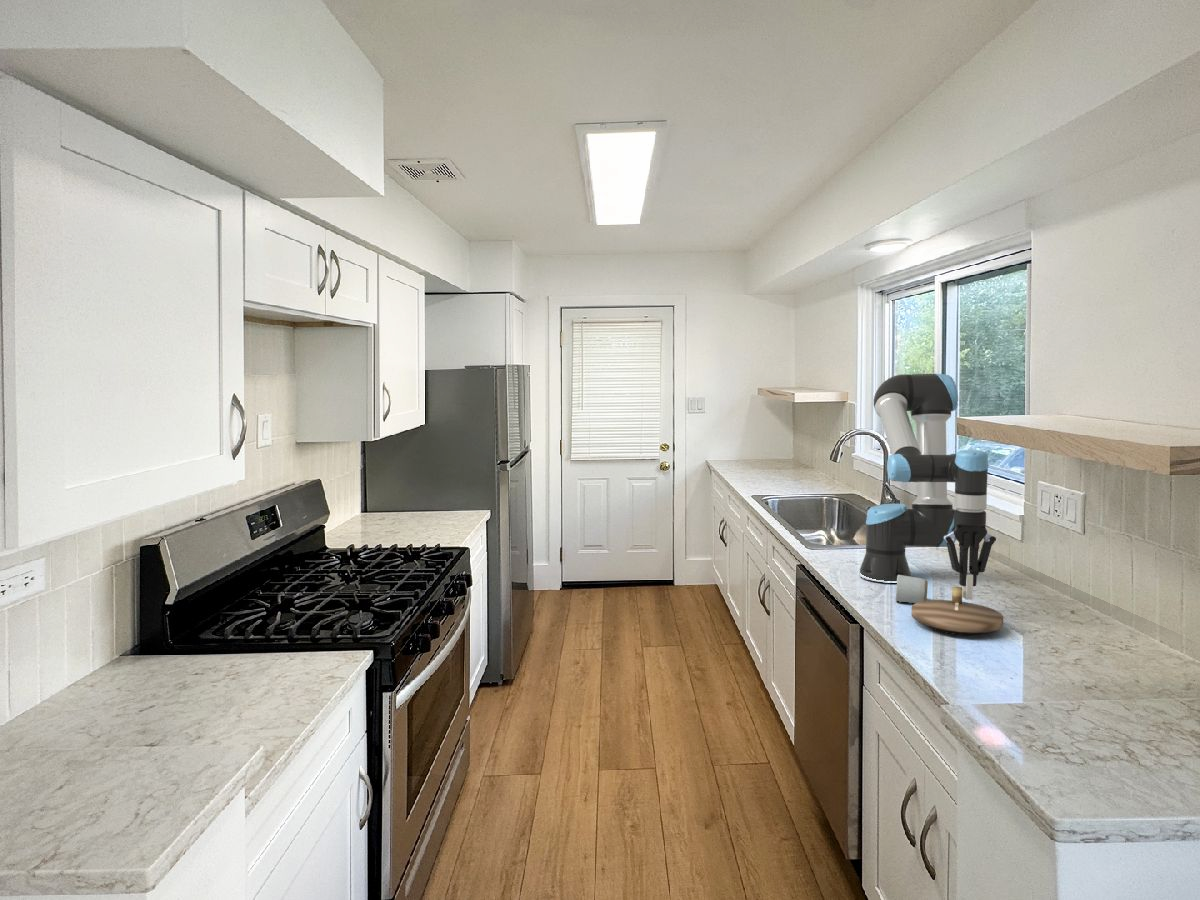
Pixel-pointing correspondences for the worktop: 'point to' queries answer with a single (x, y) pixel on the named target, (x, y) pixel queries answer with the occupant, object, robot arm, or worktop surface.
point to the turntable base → (956, 631)
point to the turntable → (957, 615)
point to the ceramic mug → (911, 589)
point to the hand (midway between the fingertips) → (967, 597)
